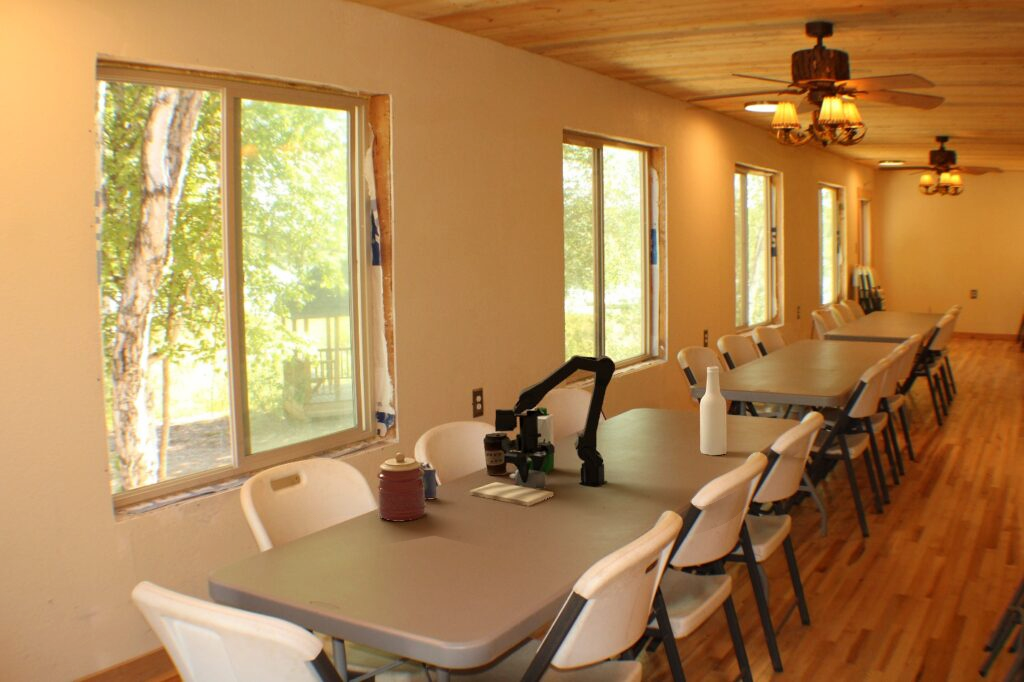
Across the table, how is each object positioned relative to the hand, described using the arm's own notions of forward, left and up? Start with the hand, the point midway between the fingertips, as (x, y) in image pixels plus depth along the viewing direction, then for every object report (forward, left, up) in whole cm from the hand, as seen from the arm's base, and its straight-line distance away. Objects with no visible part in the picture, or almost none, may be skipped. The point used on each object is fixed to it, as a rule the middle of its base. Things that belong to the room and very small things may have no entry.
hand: (530, 480), depth 286 cm
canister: (+11, +44, -2) cm, 45 cm away
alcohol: (-28, -67, -2) cm, 73 cm away
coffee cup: (+18, -6, -2) cm, 19 cm away
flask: (+19, +28, -2) cm, 34 cm away
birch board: (-2, +12, -2) cm, 12 cm away
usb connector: (0, 0, -2) cm, 2 cm away
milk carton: (+9, -17, -2) cm, 19 cm away
